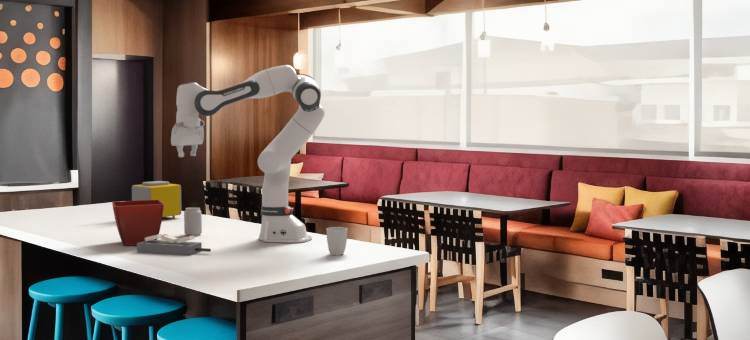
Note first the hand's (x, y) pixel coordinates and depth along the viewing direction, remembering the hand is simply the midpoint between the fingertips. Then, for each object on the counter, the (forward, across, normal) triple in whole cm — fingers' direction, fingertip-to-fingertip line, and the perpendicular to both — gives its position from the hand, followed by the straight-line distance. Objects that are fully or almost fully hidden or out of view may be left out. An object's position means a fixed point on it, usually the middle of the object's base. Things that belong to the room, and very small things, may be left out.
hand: (187, 156), depth 348 cm
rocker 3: (+31, -18, -10) cm, 37 cm away
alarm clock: (+37, +64, +54) cm, 91 cm away
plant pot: (+37, -3, +20) cm, 42 cm away
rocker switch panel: (+36, -18, -6) cm, 41 cm away
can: (+36, +23, +10) cm, 44 cm away
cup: (+35, -3, -66) cm, 75 cm away
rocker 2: (+31, -18, -3) cm, 36 cm away
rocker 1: (+31, -18, +4) cm, 36 cm away
